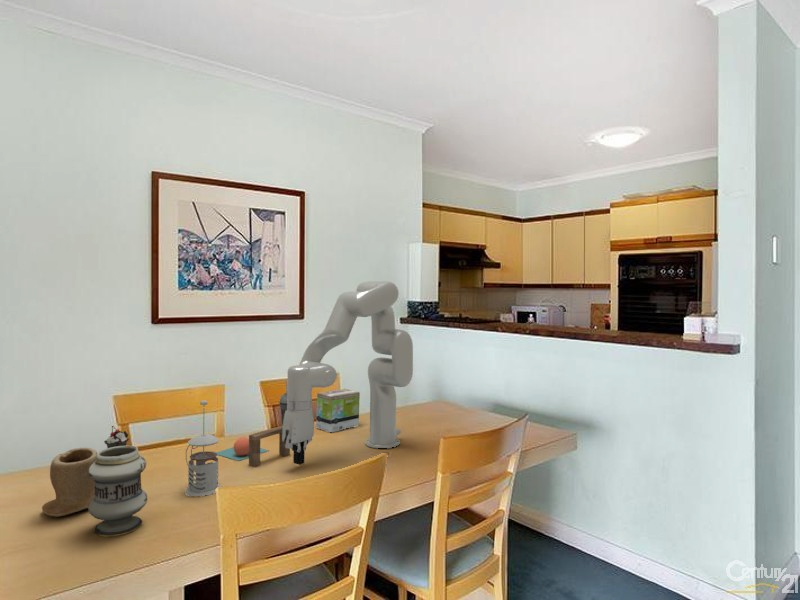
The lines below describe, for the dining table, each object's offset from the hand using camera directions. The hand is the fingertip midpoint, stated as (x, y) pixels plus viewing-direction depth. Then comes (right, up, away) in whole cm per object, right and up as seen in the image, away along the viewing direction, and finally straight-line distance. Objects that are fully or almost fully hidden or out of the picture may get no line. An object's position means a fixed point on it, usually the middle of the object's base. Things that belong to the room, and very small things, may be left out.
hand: (298, 463), depth 160 cm
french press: (-24, -2, -18) cm, 30 cm away
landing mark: (-23, -1, +15) cm, 27 cm away
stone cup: (-49, -2, -31) cm, 58 cm away
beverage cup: (-12, -1, +41) cm, 43 cm away
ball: (-21, +2, +11) cm, 24 cm away
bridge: (-11, -1, +7) cm, 13 cm away
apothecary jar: (-34, -2, -41) cm, 53 cm away
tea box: (+6, -1, +48) cm, 49 cm away
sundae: (-53, -1, -7) cm, 54 cm away
